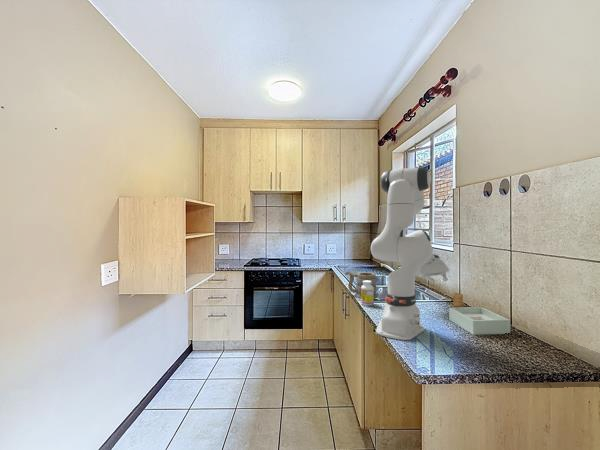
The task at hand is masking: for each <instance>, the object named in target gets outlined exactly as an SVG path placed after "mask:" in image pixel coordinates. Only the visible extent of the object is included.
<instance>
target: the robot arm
mask: <svg viewBox="0 0 600 450" xmlns="http://www.w3.org/2000/svg"><path fill="white" fill-rule="evenodd" d="M431 183H432V176H431V173H430V171H429V169H428V168H427V167H422V166H421V167H409V168H408V167H406V168H405V167H402V168H396V169H393V170H391V169H389V170H386V171H384V172H383V173H382V174H381V176H380V186H381V189H382V190H383V191H384V192H385V193H386V194H387V199H386V200H387V201H386V221H385V226H384V228H383V230H382V231H381V233H380V234H379V235H378V236H377V237H376V238H374V239H373V240H372V242H371V244H370V253H371V255H372V257H373V258H374V259H375V260H379V261H383V262H392V263H394V262H395V263H397V262H398V263H400V267H399V268H397V269H395V270H393V271H391V272H390V273H389V274H388V276H387V292H386V296H385V303H384V308H383V311H382V315H381V319H380V320H379V323H378V325H377V327H376V330H375V334H377V335H379V336H381V337H386V338H390V339H395V340H399V341H400V340H402V341H411V340H412V339H414V338H416V337H417V336H418V335H420V334H421V333H423V332H424V331H425V326H423V325H422V324H421V313H420V312H421V311H420V308H419V307H418V306H417V304H416V303H417V301H416V300H417V297H416V295H417V294H415V293H416V292H415V290H416V289H415V287H416V286H415V285H416V284H415V283H416V282H415V281H416V277H419V278H424V279H426V280H427V281H428V282H429V283H430V284H434V283H435V282H436V281H435V279H434V278H433V277H435V276H441V277H442V280H443V282H447V281H448V280H449V278H448V277H447V274H448V272H449V271H450V269H449V267H448V265H447V264H446V263H445V262H444V260H442V259H441V256H440V255H439V254H434V253H433V245H432V243H431V237H430V235H429V234H428V232H426V231H425V230H424V229H423V230H422V229H418V230H415V231H412V232H411V233H408V234H406V231H407V230H406V229H407V228H409V227H410V226H412V225H413V223H414V220H415V216H416V215H417V214H419V213H420V212H422V210H423V208H424V206H425V195H424V191H426V190H428V188H429V187H430V186H431Z"/></svg>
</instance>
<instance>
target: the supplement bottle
mask: <svg viewBox="0 0 600 450" xmlns="http://www.w3.org/2000/svg"><path fill="white" fill-rule="evenodd" d="M374 300H375V299H374V296H373V286H372V285H371V281H369V280H365V281H363V286H361V299H360V302H361V305H362V306H367V307H369V306H370V305H371V306H373V305H374V302H375V301H374Z"/></svg>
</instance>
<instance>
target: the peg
mask: <svg viewBox="0 0 600 450" xmlns="http://www.w3.org/2000/svg"><path fill="white" fill-rule="evenodd" d="M452 298H453V299H452V300H453V302H452V304H453V305H452V306H453V307H452V308H459V307H464V303H463V301H464V297H463V294H462V293H453V295H452Z"/></svg>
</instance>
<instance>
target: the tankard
mask: <svg viewBox="0 0 600 450" xmlns="http://www.w3.org/2000/svg"><path fill="white" fill-rule="evenodd" d="M344 274H345V276H347V275H349V281H348V284H347V285H348V290H349V291H350V292H351V293H354V297H356V298H357V299H359V298H360V300H361V286H363V281H365V280H369V281H371V285H372V286H373V296H374V300H376V299H378V298H379V294H378V293H376V291H377V290H378V288H377V287H378V286H377V284H376V283H377V282H378V281H377V280H378V278H376V273H374V272H358V273H353V272H351V271H349V270H348V271H346V272H344ZM354 278H355V281H356V283H357V284H356V287H355V289H354V288H353V283H354Z"/></svg>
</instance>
